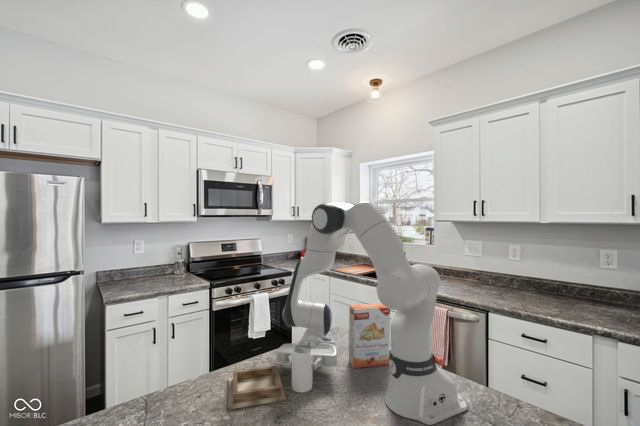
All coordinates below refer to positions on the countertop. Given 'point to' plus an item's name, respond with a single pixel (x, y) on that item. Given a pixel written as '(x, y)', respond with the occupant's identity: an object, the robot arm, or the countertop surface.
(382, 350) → the cracker box
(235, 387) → the wooden serving tray
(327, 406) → the countertop surface
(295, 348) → the can
